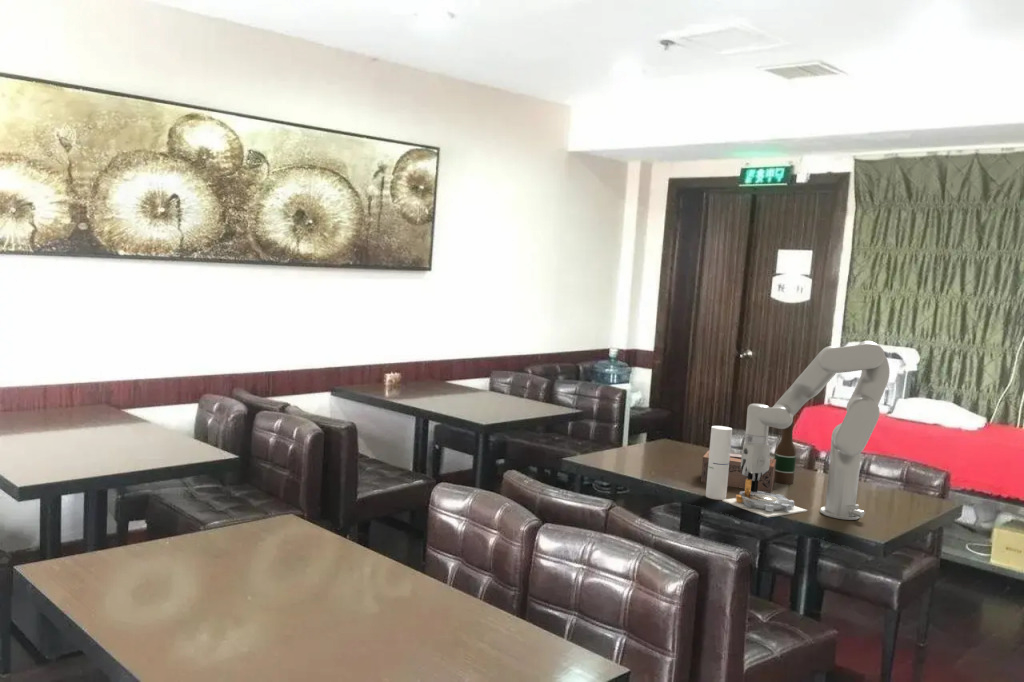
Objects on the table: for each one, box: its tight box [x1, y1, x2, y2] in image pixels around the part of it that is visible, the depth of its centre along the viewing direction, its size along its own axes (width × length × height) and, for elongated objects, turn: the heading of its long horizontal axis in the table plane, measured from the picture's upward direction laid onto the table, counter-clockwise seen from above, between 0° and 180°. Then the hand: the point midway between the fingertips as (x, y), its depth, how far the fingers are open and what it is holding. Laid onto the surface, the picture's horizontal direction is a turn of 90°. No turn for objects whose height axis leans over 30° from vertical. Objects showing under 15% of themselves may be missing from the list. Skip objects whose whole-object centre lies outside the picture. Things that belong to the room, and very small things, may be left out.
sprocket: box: [735, 479, 795, 512], centre depth 284 cm, size 19×19×8 cm
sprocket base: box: [722, 497, 808, 518], centre depth 285 cm, size 20×20×1 cm
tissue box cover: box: [700, 449, 776, 493], centre depth 316 cm, size 26×14×10 cm, turn 69°
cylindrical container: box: [705, 425, 733, 501], centre depth 292 cm, size 7×7×25 cm
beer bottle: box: [774, 422, 797, 485], centre depth 322 cm, size 8×8×24 cm
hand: (752, 490), depth 288 cm, fingers closed
